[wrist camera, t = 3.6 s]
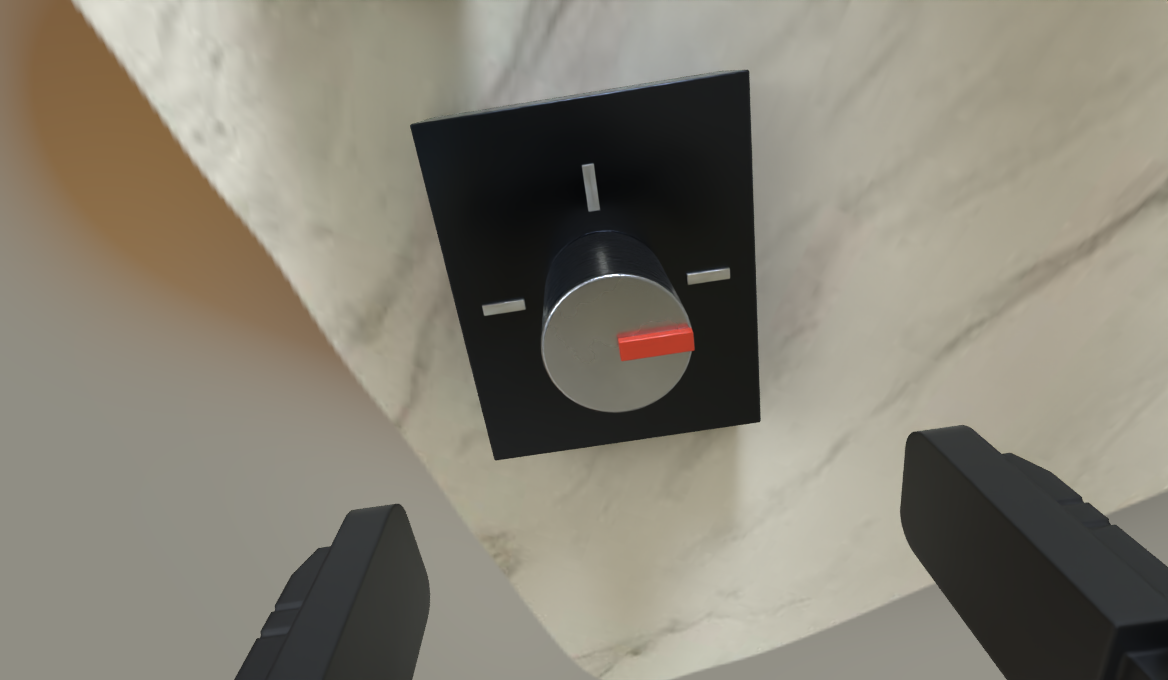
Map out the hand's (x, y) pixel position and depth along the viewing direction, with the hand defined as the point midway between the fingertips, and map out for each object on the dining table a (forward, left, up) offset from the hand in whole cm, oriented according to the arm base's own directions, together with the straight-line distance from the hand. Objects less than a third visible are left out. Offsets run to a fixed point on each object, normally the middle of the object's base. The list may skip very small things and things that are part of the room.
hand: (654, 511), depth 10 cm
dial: (0, 0, -11) cm, 11 cm away
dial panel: (0, 0, -14) cm, 14 cm away
